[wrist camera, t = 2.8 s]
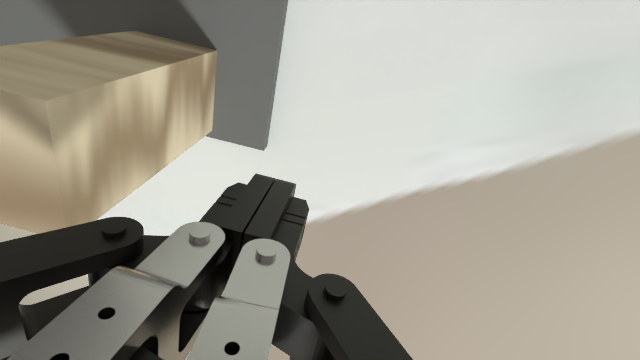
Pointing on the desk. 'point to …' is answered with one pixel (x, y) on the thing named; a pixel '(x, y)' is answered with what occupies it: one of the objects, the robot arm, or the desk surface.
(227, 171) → the desk surface
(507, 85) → the desk surface
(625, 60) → the desk surface
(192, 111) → the birch block
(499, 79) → the desk surface
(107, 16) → the rubber mat
